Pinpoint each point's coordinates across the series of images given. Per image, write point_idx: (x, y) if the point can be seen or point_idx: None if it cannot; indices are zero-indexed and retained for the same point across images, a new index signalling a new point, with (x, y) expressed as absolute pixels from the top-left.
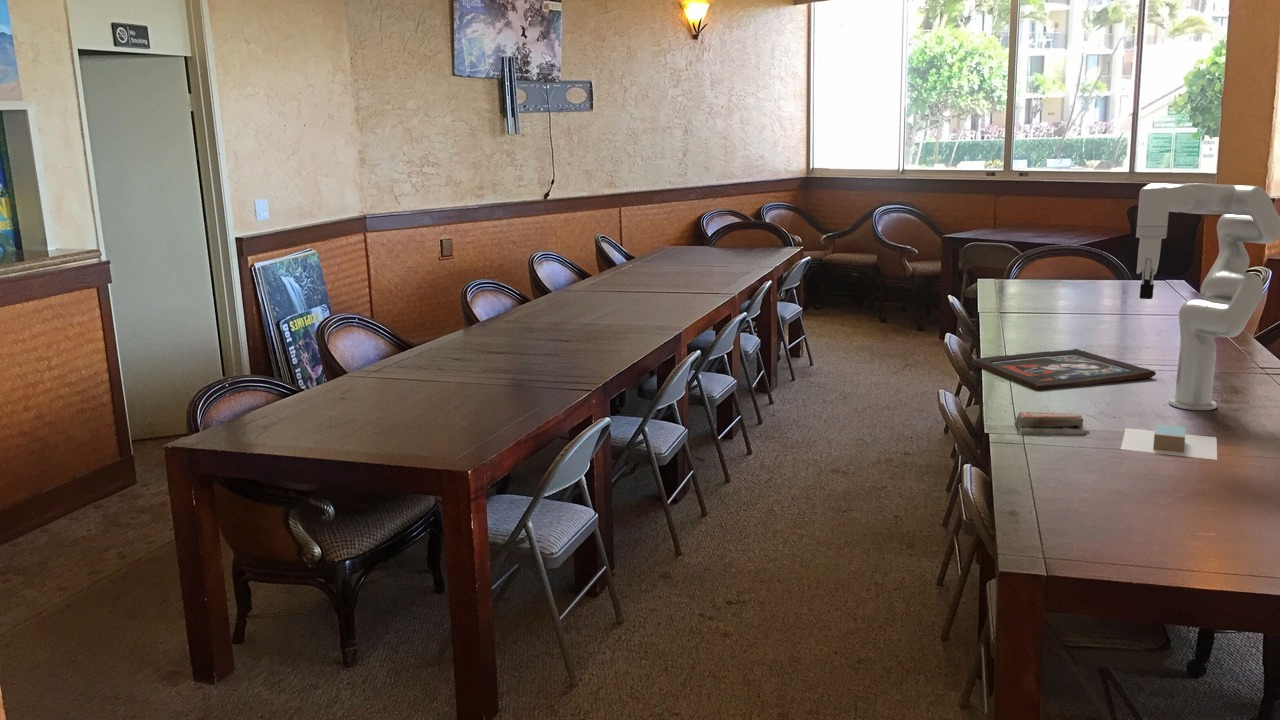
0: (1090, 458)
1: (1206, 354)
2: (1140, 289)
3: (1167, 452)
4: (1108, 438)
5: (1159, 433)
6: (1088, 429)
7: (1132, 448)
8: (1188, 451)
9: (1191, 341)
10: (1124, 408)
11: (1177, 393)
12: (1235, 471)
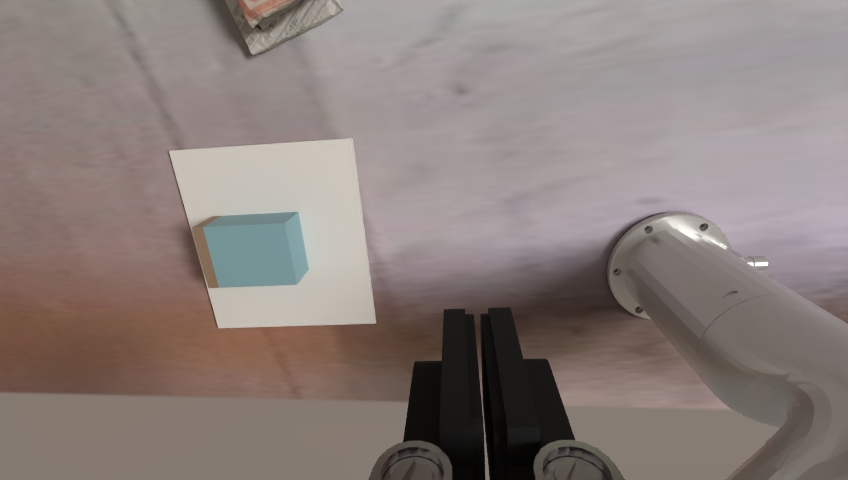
0: (68, 95)
1: (706, 383)
2: (443, 371)
3: None
4: (251, 109)
5: (207, 237)
6: (259, 50)
7: (190, 175)
8: None
9: (746, 368)
10: (573, 105)
11: (664, 243)
12: (180, 353)
